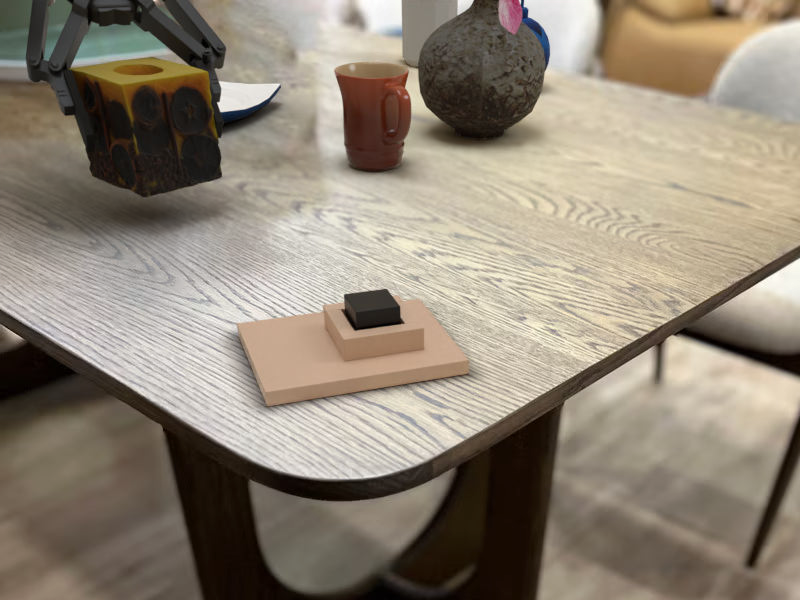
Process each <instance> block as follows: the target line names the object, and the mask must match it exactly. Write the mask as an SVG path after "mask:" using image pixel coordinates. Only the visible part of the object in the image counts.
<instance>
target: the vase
mask: <svg viewBox="0 0 800 600" xmlns="http://www.w3.org/2000/svg"><path fill="white" fill-rule="evenodd" d="M522 15H523V14H522V7H521V1H520V0H473V1H472V3H471V4H470V6H469V7H468V8H467V9H465V10H464V11H463V12H461V13H459V14H457V16H456V17H454V18H453V19H451V20H449V21H448V22H446V23H444V24H443V25H441V26H440V27H439V28H438V29H436V30H435V31H434V32H433V33H432V34H431V35H430V36H429V37H428V39H427V40H426V41H425V43H424V45H423V47H422V49H421V51H420V55H419V61H418V67H417V73H418V74H417V75H418V76H417V77H418V85H419V86H418V87H419V93H420V95H421V98H422V100H423V102H424V105H425V107H426V109H428V110H429V111H430V112H431V113H432V114H433V115H434V116H436V117H437V118H438V119H439V120H440V121H441V122H442V123H444V124H445V125H447V126H449V127H451V128H453V130H454V134H455V135H457V136H459V137H462V138H465V139H471V140H491V139H498V138H500V137H502V136H504V133H505V131H506V130H508V129H510V128H511V127H513V126H515V125H516V124H518V123H520V122H521V121H522V120H524V119H525V118H526V117H528V115H530V114H531V113H532V112H533V110H534V108H535V106H536V104H537V102H538V100H539V98H540V95H541V94H542V91H543V85H544V80H545V73H546V71H545V52H544V50H543V47H542V45H541V42H540V41H539V39H538V38H537V37H536V35H535V34H534V33H533V31H532V30H531V29H530V28H529V27H528V26H527V25H526V24H525V23H524V22H522V21H521V20H522Z"/></svg>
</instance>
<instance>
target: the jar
mask: <svg viewBox="0 0 800 600" xmlns="http://www.w3.org/2000/svg"><path fill="white" fill-rule="evenodd" d="M458 4H459V0H401V42H402V43H401V45H402V46H401V48H402V51H401V53H402V59H403V60H404V61H405V63H406V64H407V65H408V66H410V67H413V68H418V61H419V55H420V51H421V49H422V47H423V45H424V43H425V41H426V40H427V39H428V37H429V36H430V35H431V34H432V33H433V32H434V31H435V30H436V29H438V28H439V27H440V26H441V25H443V24H444V23H446V22H448V21H449V20H451V19H453V18H454V17H456V16H458V10H459V9H458V8H459V5H458Z"/></svg>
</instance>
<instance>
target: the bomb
mask: <svg viewBox="0 0 800 600" xmlns="http://www.w3.org/2000/svg"><path fill="white" fill-rule="evenodd" d="M520 5H521V7H522V14H523V15H522V20H521V21H522V22H524V23H525V24H526V25H527V26H528V27H529V28H530V29H531V30H532V31H533V33H534V34H535V35H536V37H537V38H538V39H539V41H540V42H541V45H542V47H543V50H544V52H545V72H546V70H547V69H548V66H549V63H550V57H551V44H550V40H549V37H548V34H547V33H546V30H545V29H544V27H543V26H542V25H541V24H540V23H539V21H537V20H535V19H533V18H531V17H529V8H528V7H526V6H525V0H520Z"/></svg>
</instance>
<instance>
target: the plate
mask: <svg viewBox="0 0 800 600" xmlns="http://www.w3.org/2000/svg"><path fill="white" fill-rule="evenodd" d="M219 84H220V86H221V97H220V102H217V104H218V107H219V109H220V112H221V115H222V118H223V121H224V123H223V124H225V123H230V122H235V121H238V120H241V119H244V118H246V117H249V116H250V115H251V114H253V113H254V112H256V111H258V110H259V109H262V108H263V107H265V106H267V105H269V104H270V102H272V100H273V99H274V98H275V96H276V95H277V94H278V93H279V91H280V90H281V88H282V84H281V83H240V82H229V81H223V80H219Z"/></svg>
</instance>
